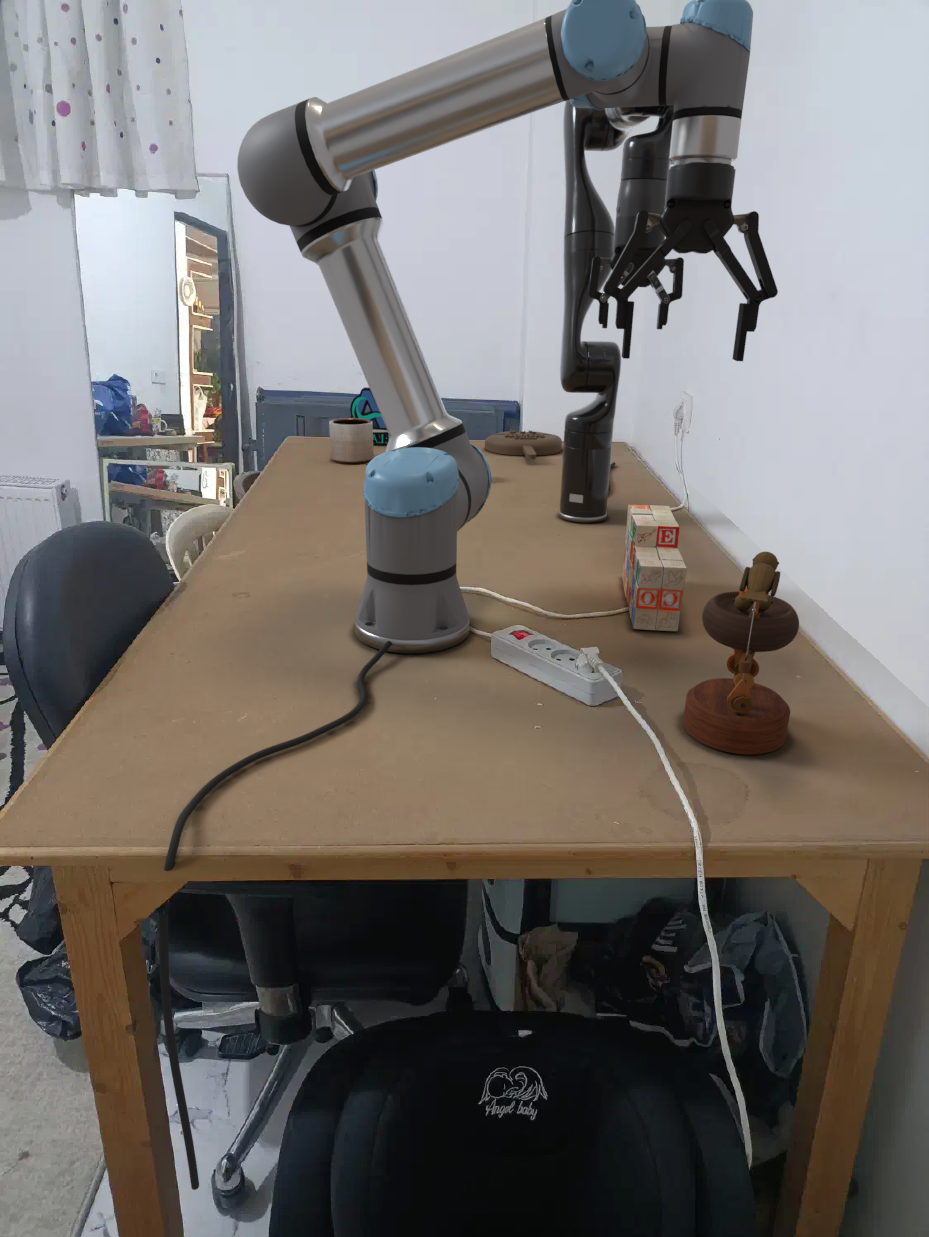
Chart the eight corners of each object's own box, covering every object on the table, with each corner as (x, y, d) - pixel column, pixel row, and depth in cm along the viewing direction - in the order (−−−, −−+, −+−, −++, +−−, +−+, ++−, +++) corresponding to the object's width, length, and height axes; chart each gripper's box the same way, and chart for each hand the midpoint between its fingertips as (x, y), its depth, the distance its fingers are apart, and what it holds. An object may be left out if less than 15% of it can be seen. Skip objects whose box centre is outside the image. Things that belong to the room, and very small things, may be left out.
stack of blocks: (679, 633, 114) (689, 545, 109) (632, 630, 114) (640, 543, 110) (661, 580, 134) (669, 504, 129) (621, 578, 134) (628, 502, 130)
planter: (327, 456, 217) (325, 418, 214) (369, 454, 220) (368, 417, 217) (334, 465, 208) (332, 425, 204) (377, 463, 211) (376, 424, 207)
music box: (807, 766, 83) (825, 574, 75) (692, 766, 84) (698, 577, 77) (772, 695, 97) (784, 526, 89) (674, 696, 98) (678, 530, 91)
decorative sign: (402, 443, 235) (401, 388, 229) (401, 445, 232) (400, 389, 227) (334, 442, 236) (332, 386, 230) (333, 443, 233) (330, 387, 228)
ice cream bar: (490, 464, 211) (490, 447, 209) (483, 443, 237) (483, 428, 235) (573, 465, 212) (575, 448, 210) (557, 444, 238) (558, 429, 236)
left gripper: (805, 169, 98) (777, 358, 107) (590, 168, 101) (578, 353, 109) (824, 161, 92) (793, 364, 100) (593, 160, 94) (580, 359, 102)
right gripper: (686, 217, 130) (674, 328, 136) (592, 216, 131) (585, 326, 137) (693, 214, 123) (680, 331, 129) (594, 213, 124) (586, 329, 130)
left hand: (681, 359), depth 104 cm, fingers open, 13 cm apart
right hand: (631, 328), depth 133 cm, fingers open, 8 cm apart
